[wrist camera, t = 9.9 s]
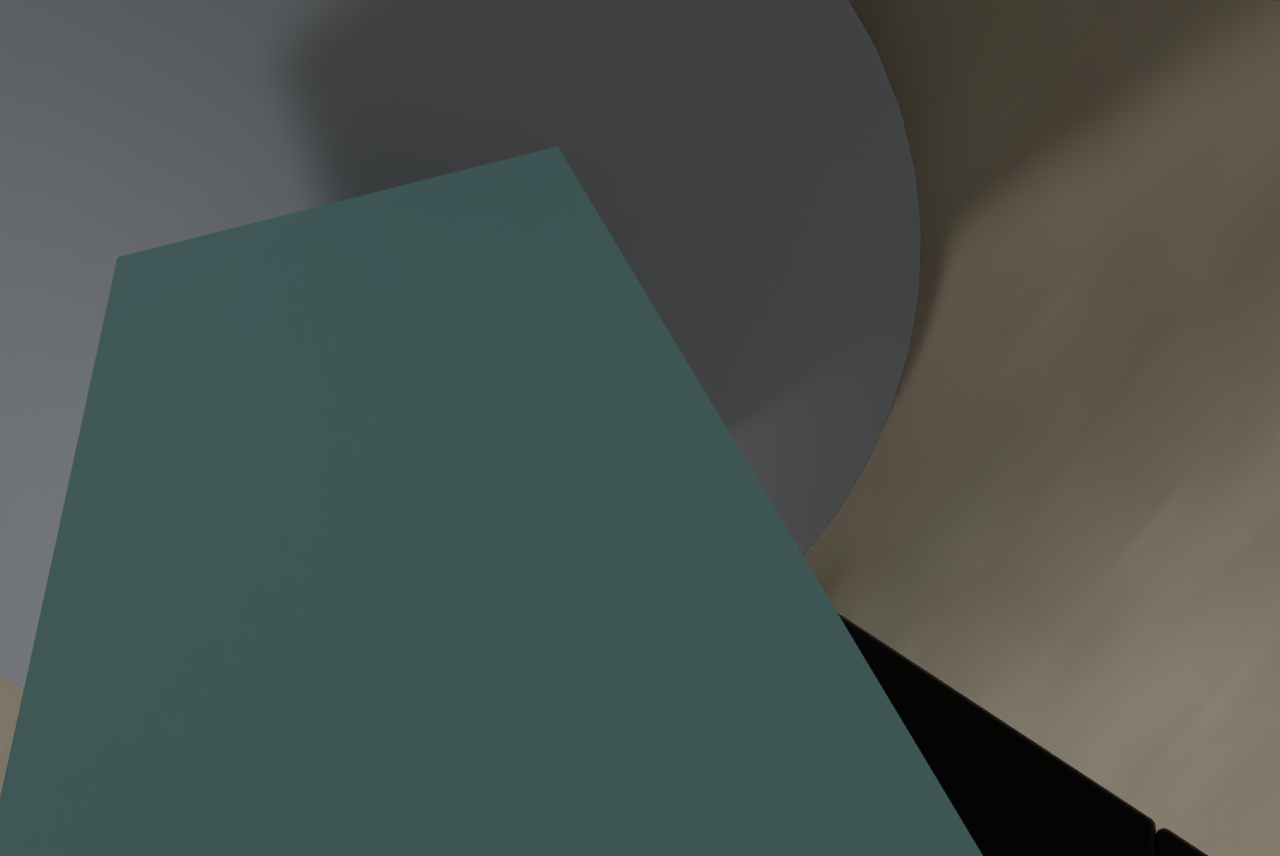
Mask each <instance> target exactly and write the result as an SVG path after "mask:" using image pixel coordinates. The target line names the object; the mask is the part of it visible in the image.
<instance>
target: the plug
mask: <svg viewBox="0 0 1280 856" xmlns="http://www.w3.org/2000/svg"><path fill="white" fill-rule="evenodd" d="M0 856H983V855H982V854H981V852H980V850H979V849H978V847H977V845H976V844H975V842H974V840H973V839H972V837H971V835H970V834H969V832H968V830H967V829H966V827H965V825H964V823H963V822H962V820H961V818H960V817H959V815H958V813H957V812H956V810H955V808H954V807H953V805H952V803H951V802H950V800H949V798H948V797H947V795H946V793H945V792H944V790H943V788H942V787H941V785H940V783H939V782H938V780H937V778H936V777H935V775H934V773H933V772H932V770H931V768H930V767H929V765H928V763H927V762H926V760H925V758H924V757H923V755H922V753H921V752H920V750H919V748H918V747H917V745H916V743H915V742H914V740H913V738H912V737H911V735H910V733H909V732H908V730H907V728H906V727H905V725H904V723H903V722H902V720H901V718H900V717H899V715H898V713H897V712H896V710H895V708H894V707H893V705H892V703H891V702H890V700H889V698H888V697H887V695H886V693H885V692H884V690H883V688H882V687H881V685H880V683H879V682H878V680H877V678H876V677H875V675H874V673H873V672H872V670H871V668H870V667H869V665H868V663H867V662H866V660H865V658H864V657H863V655H862V653H861V652H860V650H859V648H858V647H857V645H856V643H855V642H854V640H853V638H852V637H851V635H850V633H849V632H848V630H847V628H846V627H845V625H844V623H843V622H842V620H841V618H840V617H839V615H838V613H837V612H836V610H835V608H834V607H833V605H832V603H831V602H830V600H829V598H828V597H827V595H826V593H825V592H824V590H823V588H822V587H821V585H820V583H819V582H818V580H817V578H816V577H815V575H814V573H813V572H812V570H811V568H810V567H809V565H808V563H807V562H806V560H805V558H804V557H803V555H802V553H801V552H800V550H799V548H798V546H797V545H796V543H795V541H794V540H793V538H792V536H791V535H790V533H789V531H788V530H787V528H786V526H785V525H784V523H783V521H782V520H781V518H780V516H779V515H778V513H777V511H776V510H775V508H774V506H773V505H772V503H771V501H770V500H769V498H768V496H767V495H766V493H765V491H764V490H763V488H762V486H761V485H760V483H759V481H758V480H757V478H756V476H755V475H754V473H753V471H752V470H751V468H750V466H749V465H748V463H747V461H746V460H745V458H744V456H743V455H742V453H741V451H740V450H739V448H738V446H737V445H736V443H735V441H734V440H733V438H732V436H731V435H730V433H729V431H728V430H727V428H726V426H725V425H724V423H723V421H722V420H721V418H720V416H719V415H718V413H717V411H716V410H715V408H714V406H713V405H712V403H711V401H710V400H709V398H708V396H707V395H706V393H705V391H704V390H703V388H702V386H701V385H700V383H699V381H698V380H697V378H696V376H695V375H694V373H693V371H692V370H691V368H690V366H689V365H688V363H687V361H686V360H685V358H684V356H683V355H682V353H681V351H680V350H679V348H678V346H677V345H676V343H675V341H674V340H673V338H672V336H671V335H670V333H669V331H668V330H667V328H666V326H665V325H664V323H663V321H662V320H661V318H660V316H659V315H658V313H657V311H656V310H655V308H654V306H653V305H652V303H651V301H650V300H649V298H648V296H647V295H646V293H645V291H644V290H643V288H642V286H641V285H640V283H639V281H638V280H637V278H636V276H635V275H634V273H633V271H632V270H631V268H630V266H629V264H628V263H627V261H626V259H625V258H624V256H623V254H622V253H621V251H620V249H619V248H618V246H617V244H616V243H615V241H614V239H613V238H612V236H611V234H610V233H609V231H608V229H607V228H606V226H605V224H604V223H603V221H602V219H601V218H600V216H599V214H598V213H597V211H596V209H595V208H594V206H593V204H592V203H591V201H590V199H589V198H588V196H587V194H586V193H585V191H584V189H583V188H582V186H581V184H580V183H579V181H578V179H577V178H576V176H575V174H574V173H573V171H572V169H571V168H570V166H569V164H568V163H567V161H566V159H565V158H564V156H563V154H562V153H561V151H560V149H559V148H558V146H557V147H553V148H549V149H545V150H541V151H537V152H533V153H529V154H525V155H521V156H517V157H513V158H509V159H505V160H501V161H498V162H494V163H490V164H486V165H482V166H478V167H474V168H470V169H466V170H462V171H458V172H454V173H450V174H446V175H442V176H438V177H434V178H430V179H426V180H422V181H418V182H414V183H410V184H406V185H402V186H398V187H394V188H390V189H386V190H382V191H378V192H374V193H371V194H367V195H363V196H359V197H355V198H351V199H347V200H343V201H339V202H335V203H331V204H327V205H323V206H319V207H315V208H311V209H307V210H303V211H299V212H295V213H291V214H287V215H283V216H279V217H275V218H271V219H267V220H263V221H259V222H255V223H251V224H248V225H244V226H240V227H236V228H232V229H228V230H224V231H220V232H216V233H212V234H208V235H204V236H200V237H196V238H192V239H188V240H184V241H180V242H176V243H172V244H168V245H164V246H160V247H156V248H152V249H148V250H144V251H140V252H136V253H132V254H128V255H124V256H121V257H117V261H116V266H115V271H114V275H113V280H112V284H111V289H110V294H109V298H108V303H107V307H106V312H105V317H104V321H103V326H102V331H101V335H100V340H99V344H98V349H97V354H96V358H95V363H94V368H93V372H92V377H91V381H90V386H89V391H88V395H87V400H86V404H85V409H84V414H83V418H82V423H81V428H80V432H79V437H78V441H77V446H76V451H75V455H74V460H73V465H72V469H71V474H70V478H69V483H68V488H67V492H66V497H65V502H64V506H63V511H62V515H61V520H60V525H59V529H58V534H57V538H56V543H55V548H54V552H53V557H52V562H51V566H50V571H49V575H48V580H47V585H46V589H45V594H44V599H43V603H42V608H41V612H40V617H39V622H38V626H37V631H36V635H35V640H34V645H33V649H32V654H31V659H30V663H29V668H28V672H27V677H26V682H25V686H24V691H23V696H22V700H21V705H20V709H19V714H18V719H17V723H16V728H15V732H14V737H13V742H12V746H11V751H10V756H9V760H8V765H7V769H6V774H5V779H4V783H3V788H2V793H1V797H0Z"/></svg>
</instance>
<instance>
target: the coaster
mask: <svg viewBox="0 0 1280 856" xmlns="http://www.w3.org/2000/svg"><path fill="white" fill-rule="evenodd" d="M557 146H558V148H559V149H560V151H561V153H562V154H563V156H564V158H565V159H566V161H567V163H568V164H569V166H570V168H571V169H572V171H573V173H574V174H575V176H576V178H577V179H578V181H579V183H580V184H581V186H582V188H583V189H584V191H585V193H586V194H587V196H588V198H589V199H590V201H591V203H592V204H593V206H594V208H595V209H596V211H597V213H598V214H599V216H600V218H601V219H602V221H603V223H604V224H605V226H606V228H607V229H608V231H609V233H610V234H611V236H612V238H613V239H614V241H615V243H616V244H617V246H618V248H619V249H620V251H621V253H622V254H623V256H624V258H625V259H626V261H627V263H628V264H629V266H630V268H631V270H632V271H633V273H634V275H635V276H636V278H637V280H638V281H639V283H640V285H641V286H642V288H643V290H644V291H645V293H646V295H647V296H648V298H649V300H650V301H651V303H652V305H653V306H654V308H655V310H656V311H657V313H658V315H659V316H660V318H661V320H662V321H663V323H664V325H665V326H666V328H667V330H668V331H669V333H670V335H671V336H672V338H673V340H674V341H675V343H676V345H677V346H678V348H679V350H680V351H681V353H682V355H683V356H684V358H685V360H686V361H687V363H688V365H689V366H690V368H691V370H692V371H693V373H694V375H695V376H696V378H697V380H698V381H699V383H700V385H701V386H702V388H703V390H704V391H705V393H706V395H707V396H708V398H709V400H710V401H711V403H712V405H713V406H714V408H715V410H716V411H717V413H718V415H719V416H720V418H721V420H722V421H723V423H724V425H725V426H726V428H727V430H728V431H729V433H730V435H731V436H732V438H733V440H734V441H735V443H736V445H737V446H738V448H739V450H740V451H741V453H742V455H743V456H744V458H745V460H746V461H747V463H748V465H749V466H750V468H751V470H752V471H753V473H754V475H755V476H756V478H757V480H758V481H759V483H760V485H761V486H762V488H763V490H764V491H765V493H766V495H767V496H768V498H769V500H770V501H771V503H772V505H773V506H774V508H775V510H776V511H777V513H778V515H779V516H780V518H781V520H782V521H783V523H784V525H785V526H786V528H787V530H788V531H789V533H790V535H791V536H792V538H793V540H794V541H795V543H796V545H797V546H798V548H799V550H800V552H801V553H802V555H803V556H804V554H805V553H806V552H807V551H808V550H809V548H810V547H811V546H812V544H813V543H814V542H815V540H816V539H817V538H818V536H819V535H820V534H821V532H822V531H823V530H824V528H825V527H826V526H827V524H828V523H829V522H830V520H831V519H832V518H833V516H834V515H835V514H836V512H837V511H838V510H839V508H840V507H841V505H842V503H843V502H844V500H845V498H846V497H847V495H848V493H849V491H850V490H851V488H852V486H853V485H854V483H855V481H856V480H857V478H858V476H859V475H860V473H861V471H862V470H863V468H864V466H865V464H866V463H867V461H868V459H869V457H870V455H871V453H872V450H873V448H874V446H875V444H876V441H877V439H878V437H879V435H880V432H881V430H882V428H883V426H884V424H885V421H886V419H887V417H888V415H889V412H890V410H891V408H892V405H893V402H894V398H895V395H896V392H897V389H898V385H899V382H900V379H901V376H902V372H903V369H904V366H905V363H906V360H907V356H908V353H909V348H910V342H911V336H912V331H913V325H914V319H915V314H916V308H917V302H918V297H919V279H920V257H921V225H920V214H919V203H918V192H917V181H916V172H915V168H914V164H913V159H912V155H911V151H910V147H909V143H908V138H907V134H906V130H905V126H904V121H903V117H902V113H901V110H900V107H899V104H898V102H897V99H896V97H895V94H894V92H893V89H892V87H891V84H890V82H889V79H888V77H887V74H886V72H885V69H884V67H883V64H882V61H881V59H880V56H879V54H878V51H877V49H876V47H875V45H874V43H873V42H872V40H871V38H870V36H869V35H868V33H867V31H866V30H865V28H864V26H863V24H862V23H861V21H860V19H859V17H858V16H857V14H856V12H855V10H854V9H853V7H852V5H851V3H850V2H849V0H0V675H2V676H4V677H5V678H7V679H9V680H11V681H12V682H14V683H16V684H18V685H19V686H21V687H23V688H24V686H25V682H26V677H27V672H28V668H29V663H30V659H31V654H32V649H33V645H34V640H35V635H36V631H37V626H38V622H39V617H40V612H41V608H42V603H43V599H44V594H45V589H46V585H47V580H48V575H49V571H50V566H51V562H52V557H53V552H54V548H55V543H56V538H57V534H58V529H59V525H60V520H61V515H62V511H63V506H64V502H65V497H66V492H67V488H68V483H69V478H70V474H71V469H72V465H73V460H74V455H75V451H76V446H77V441H78V437H79V432H80V428H81V423H82V418H83V414H84V409H85V404H86V400H87V395H88V391H89V386H90V381H91V377H92V372H93V368H94V363H95V358H96V354H97V349H98V344H99V340H100V335H101V331H102V326H103V321H104V317H105V312H106V307H107V303H108V298H109V294H110V289H111V284H112V280H113V275H114V271H115V266H116V261H117V257H121V256H124V255H128V254H132V253H136V252H140V251H144V250H148V249H152V248H156V247H160V246H164V245H168V244H172V243H176V242H180V241H184V240H188V239H192V238H196V237H200V236H204V235H208V234H212V233H216V232H220V231H224V230H228V229H232V228H236V227H240V226H244V225H248V224H251V223H255V222H259V221H263V220H267V219H271V218H275V217H279V216H283V215H287V214H291V213H295V212H299V211H303V210H307V209H311V208H315V207H319V206H323V205H327V204H331V203H335V202H339V201H343V200H347V199H351V198H355V197H359V196H363V195H367V194H371V193H374V192H378V191H382V190H386V189H390V188H394V187H398V186H402V185H406V184H410V183H414V182H418V181H422V180H426V179H430V178H434V177H438V176H442V175H446V174H450V173H454V172H458V171H462V170H466V169H470V168H474V167H478V166H482V165H486V164H490V163H494V162H498V161H501V160H505V159H509V158H513V157H517V156H521V155H525V154H529V153H533V152H537V151H541V150H545V149H549V148H553V147H557Z"/></svg>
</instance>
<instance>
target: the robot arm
mask: <svg viewBox="0 0 1280 856" xmlns="http://www.w3.org/2000/svg"><path fill="white" fill-rule="evenodd" d="M838 615H839V617H840V618H841V620H842V622H843V623H844V625H845V627H846V628H847V630H848V632H849V633H850V635H851V637H852V638H853V640H854V642H855V643H856V645H857V647H858V648H859V650H860V652H861V653H862V655H863V657H864V658H865V660H866V662H867V663H868V665H869V667H870V668H871V670H872V672H873V673H874V675H875V677H876V678H877V680H878V682H879V683H880V685H881V687H882V688H883V690H884V692H885V693H886V695H887V697H888V698H889V700H890V702H891V703H892V705H893V707H894V708H895V710H896V712H897V713H898V715H899V717H900V718H901V720H902V722H903V723H904V725H905V727H906V728H907V730H908V732H909V733H910V735H911V737H912V738H913V740H914V742H915V743H916V745H917V747H918V748H919V750H920V752H921V753H922V755H923V757H924V758H925V760H926V762H927V763H928V765H929V767H930V768H931V770H932V772H933V773H934V775H935V777H936V778H937V780H938V782H939V783H940V785H941V787H942V788H943V790H944V792H945V793H946V795H947V797H948V798H949V800H950V802H951V803H952V805H953V807H954V808H955V810H956V812H957V813H958V815H959V817H960V818H961V820H962V822H963V823H964V825H965V827H966V829H967V830H968V832H969V834H970V835H971V837H972V839H973V840H974V842H975V844H976V845H977V847H978V849H979V850H980V852H981V854H982V855H983V856H1208V855H1206V854H1205V853H1203V852H1202V851H1200V850H1199V849H1197V848H1196V847H1194V846H1193V845H1191V844H1190V843H1188V842H1186V841H1185V840H1183V839H1182V838H1180V837H1179V836H1177V835H1176V834H1174V833H1173V832H1171V831H1170V830H1168V829H1166V828H1162V829H1159V830H1158V831H1157V833H1156V826H1155V822H1154V821H1153V820H1152V819H1151V818H1149V817H1148V816H1146V815H1145V814H1143V813H1142V812H1140V811H1139V810H1137V809H1136V808H1134V807H1132V806H1131V805H1129V804H1128V803H1126V802H1125V801H1123V800H1122V799H1120V798H1119V797H1117V796H1116V795H1114V794H1113V793H1111V792H1110V791H1108V790H1107V789H1105V788H1104V787H1102V786H1101V785H1099V784H1097V783H1096V782H1094V781H1093V780H1091V779H1090V778H1088V777H1087V776H1085V775H1084V774H1082V773H1081V772H1079V771H1078V770H1076V769H1075V768H1073V767H1072V766H1070V765H1069V764H1067V763H1065V762H1064V761H1062V760H1061V759H1059V758H1058V757H1056V756H1055V755H1053V754H1052V753H1050V752H1049V751H1047V750H1046V749H1044V748H1043V747H1041V746H1040V745H1038V744H1037V743H1035V742H1034V741H1032V740H1030V739H1029V738H1027V737H1026V736H1024V735H1023V734H1021V733H1020V732H1018V731H1017V730H1015V729H1014V728H1012V727H1011V726H1009V725H1008V724H1006V723H1005V722H1003V721H1002V720H1000V719H999V718H997V717H995V716H994V715H992V714H991V713H989V712H988V711H986V710H985V709H983V708H982V707H980V706H979V705H977V704H976V703H974V702H973V701H971V700H970V699H968V698H967V697H965V696H963V695H962V694H960V693H959V692H957V691H956V690H954V689H953V688H951V687H950V686H948V685H947V684H945V683H944V682H942V681H941V680H939V679H938V678H936V677H935V676H933V675H932V674H930V673H928V672H927V671H925V670H924V669H922V668H921V667H919V666H918V665H916V664H915V663H913V662H912V661H910V660H909V659H907V658H906V657H904V656H903V655H901V654H900V653H898V652H896V651H895V650H893V649H892V648H890V647H889V646H887V645H886V644H884V643H883V642H881V641H880V640H878V639H877V638H875V637H874V636H872V635H871V634H869V633H868V632H866V631H865V630H863V629H861V628H860V627H858V626H857V625H855V624H854V623H852V622H851V621H849V620H848V619H846V618H845V617H843V616H842V615H840V614H839V613H838Z"/></svg>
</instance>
